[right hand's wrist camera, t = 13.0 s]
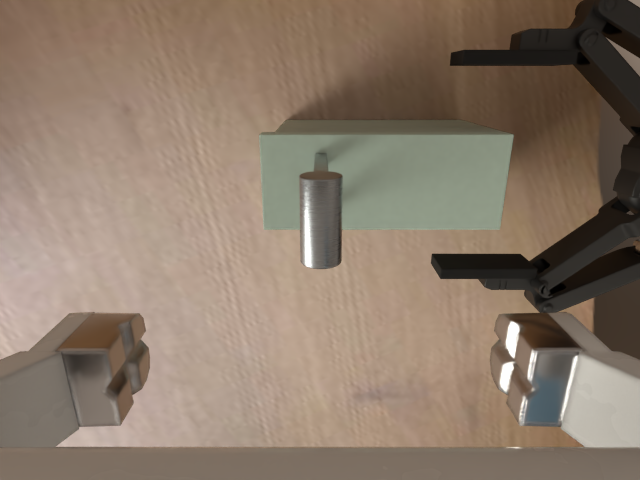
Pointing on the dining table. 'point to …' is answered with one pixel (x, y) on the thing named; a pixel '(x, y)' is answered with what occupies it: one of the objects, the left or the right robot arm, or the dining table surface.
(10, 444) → the right robot arm
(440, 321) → the dining table surface
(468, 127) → the chest
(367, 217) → the lid
